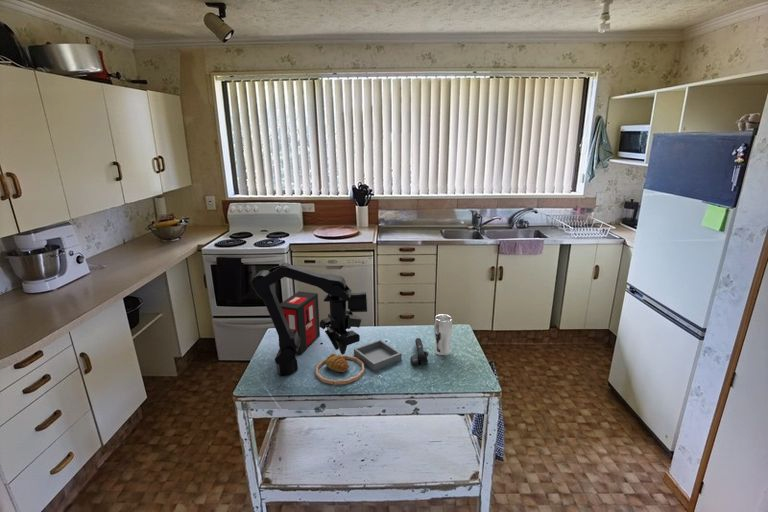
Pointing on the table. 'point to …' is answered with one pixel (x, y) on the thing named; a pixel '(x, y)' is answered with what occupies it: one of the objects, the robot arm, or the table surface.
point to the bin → (377, 355)
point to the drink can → (442, 334)
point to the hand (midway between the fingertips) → (339, 351)
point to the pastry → (337, 363)
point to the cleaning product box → (303, 317)
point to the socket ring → (341, 380)
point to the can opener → (419, 354)
